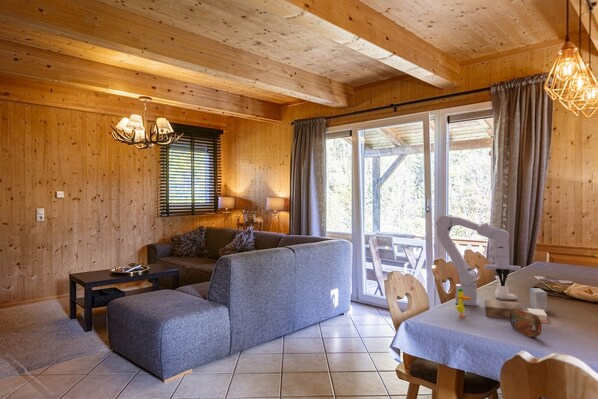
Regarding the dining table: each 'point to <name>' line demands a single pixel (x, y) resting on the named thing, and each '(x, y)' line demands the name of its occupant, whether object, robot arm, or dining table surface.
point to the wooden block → (500, 308)
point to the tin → (525, 322)
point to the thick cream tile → (538, 313)
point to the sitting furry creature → (503, 291)
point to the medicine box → (538, 299)
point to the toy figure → (461, 302)
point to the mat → (544, 321)
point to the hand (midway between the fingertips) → (502, 285)
